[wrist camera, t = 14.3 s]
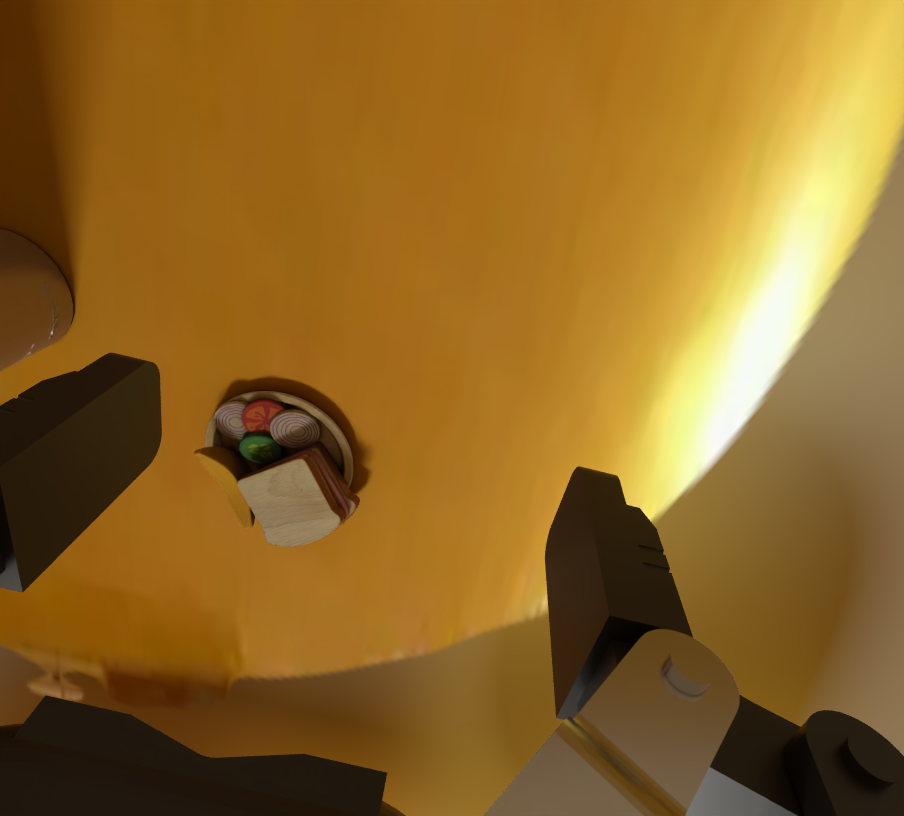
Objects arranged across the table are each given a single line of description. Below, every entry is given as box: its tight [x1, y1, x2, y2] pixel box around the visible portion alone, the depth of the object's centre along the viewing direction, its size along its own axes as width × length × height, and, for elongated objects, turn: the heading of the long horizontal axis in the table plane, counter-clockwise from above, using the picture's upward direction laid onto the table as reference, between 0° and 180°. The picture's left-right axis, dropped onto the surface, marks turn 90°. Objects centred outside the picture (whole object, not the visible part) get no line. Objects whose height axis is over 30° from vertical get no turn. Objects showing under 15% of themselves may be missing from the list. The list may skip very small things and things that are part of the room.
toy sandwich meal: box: [194, 391, 360, 547], centre depth 47 cm, size 12×14×5 cm
